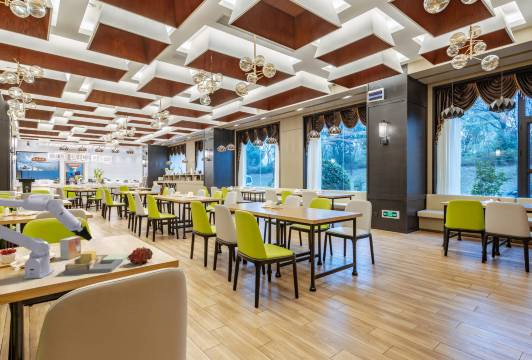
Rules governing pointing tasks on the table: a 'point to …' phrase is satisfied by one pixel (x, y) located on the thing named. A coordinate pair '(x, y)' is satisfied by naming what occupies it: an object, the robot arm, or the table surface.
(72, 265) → the shallow brown tray
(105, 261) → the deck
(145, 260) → the red grape bunch
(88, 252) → the cube
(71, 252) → the small box
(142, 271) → the table surface
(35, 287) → the table surface
